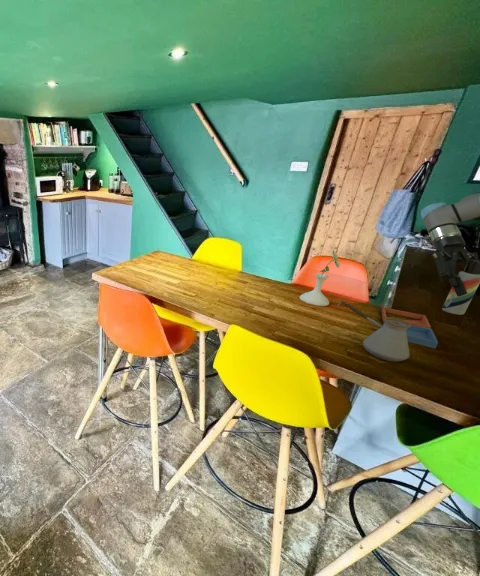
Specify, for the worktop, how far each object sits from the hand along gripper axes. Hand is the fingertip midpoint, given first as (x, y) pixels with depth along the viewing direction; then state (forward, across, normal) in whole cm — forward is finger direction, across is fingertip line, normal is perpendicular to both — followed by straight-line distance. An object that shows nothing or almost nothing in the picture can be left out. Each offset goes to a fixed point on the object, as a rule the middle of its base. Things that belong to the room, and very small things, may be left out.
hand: (472, 295), depth 107 cm
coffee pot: (+22, +40, -1) cm, 46 cm away
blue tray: (+13, +18, -9) cm, 24 cm away
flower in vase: (-6, +36, -29) cm, 47 cm away
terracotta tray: (+5, +10, -18) cm, 21 cm away
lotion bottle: (+3, 0, -9) cm, 9 cm away
